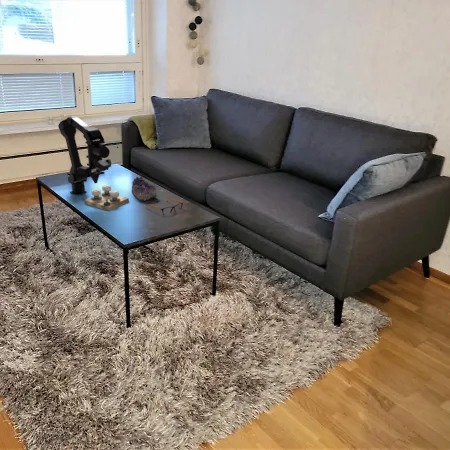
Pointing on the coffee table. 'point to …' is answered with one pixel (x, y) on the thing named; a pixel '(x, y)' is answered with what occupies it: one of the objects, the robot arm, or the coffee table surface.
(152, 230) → the coffee table surface
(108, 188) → the knob
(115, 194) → the knob
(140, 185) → the geode
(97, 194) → the knob
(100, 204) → the panel
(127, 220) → the coffee table surface
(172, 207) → the eyeglasses
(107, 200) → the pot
